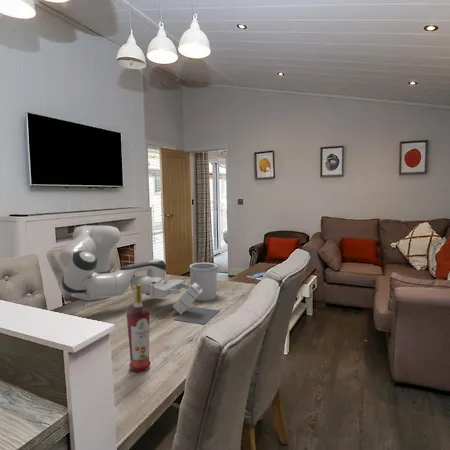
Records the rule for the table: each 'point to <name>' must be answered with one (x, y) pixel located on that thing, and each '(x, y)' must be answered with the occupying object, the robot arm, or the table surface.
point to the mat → (197, 315)
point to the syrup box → (188, 298)
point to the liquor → (138, 332)
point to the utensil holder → (204, 279)
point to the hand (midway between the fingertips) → (184, 289)
